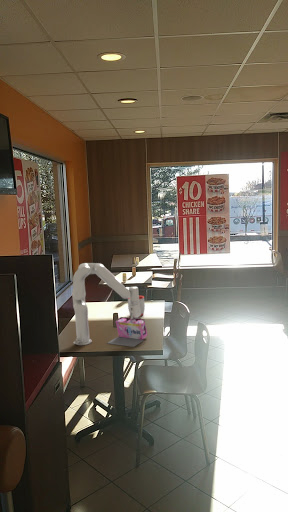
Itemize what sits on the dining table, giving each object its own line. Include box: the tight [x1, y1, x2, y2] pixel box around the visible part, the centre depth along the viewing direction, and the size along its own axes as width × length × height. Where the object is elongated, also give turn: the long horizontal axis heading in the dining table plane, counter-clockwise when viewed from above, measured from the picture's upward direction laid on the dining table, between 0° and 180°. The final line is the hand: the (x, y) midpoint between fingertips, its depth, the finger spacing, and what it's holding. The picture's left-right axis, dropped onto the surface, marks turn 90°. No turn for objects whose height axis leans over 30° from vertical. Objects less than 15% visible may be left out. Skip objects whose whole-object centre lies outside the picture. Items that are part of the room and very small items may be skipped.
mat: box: [107, 336, 145, 348], centre depth 323 cm, size 15×23×1 cm, turn 61°
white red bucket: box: [127, 295, 146, 317], centre depth 394 cm, size 16×17×20 cm
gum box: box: [115, 316, 148, 340], centre depth 331 cm, size 24×8×14 cm, turn 57°
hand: (135, 325), depth 336 cm, fingers closed
